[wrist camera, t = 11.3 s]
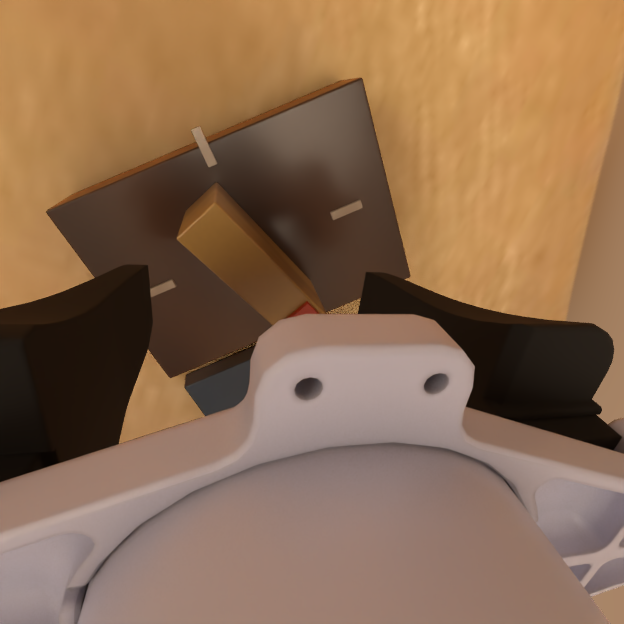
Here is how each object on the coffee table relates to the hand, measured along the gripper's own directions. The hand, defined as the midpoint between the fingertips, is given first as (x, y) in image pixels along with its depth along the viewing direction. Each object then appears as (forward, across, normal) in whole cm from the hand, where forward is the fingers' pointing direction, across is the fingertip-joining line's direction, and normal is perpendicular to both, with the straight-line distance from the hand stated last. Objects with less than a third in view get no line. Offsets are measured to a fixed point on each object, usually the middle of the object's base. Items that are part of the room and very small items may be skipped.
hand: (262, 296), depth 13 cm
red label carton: (+5, 0, 0) cm, 5 cm away
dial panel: (+8, 0, 0) cm, 8 cm away
